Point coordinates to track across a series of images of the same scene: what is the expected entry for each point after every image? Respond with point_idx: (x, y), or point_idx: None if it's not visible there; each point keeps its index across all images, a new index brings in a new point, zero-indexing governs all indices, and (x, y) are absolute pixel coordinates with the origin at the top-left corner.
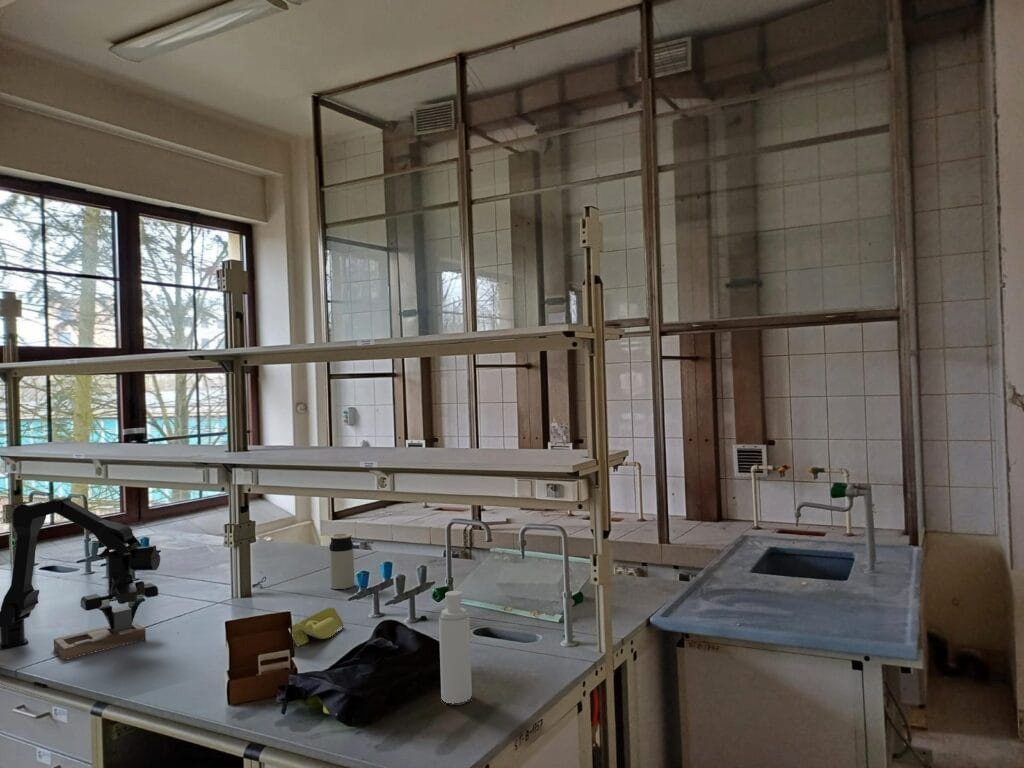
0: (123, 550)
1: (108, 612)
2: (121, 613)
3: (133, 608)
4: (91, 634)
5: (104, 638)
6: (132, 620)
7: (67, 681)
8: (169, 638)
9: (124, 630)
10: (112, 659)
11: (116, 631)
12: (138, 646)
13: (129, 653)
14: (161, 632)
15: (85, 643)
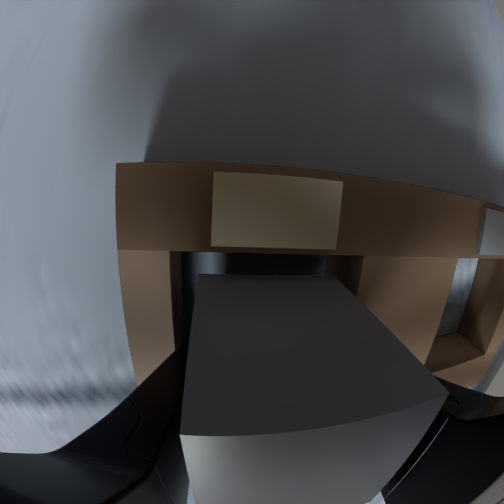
0: None
1: (479, 406)
2: (354, 389)
3: (140, 448)
4: (422, 349)
5: (433, 197)
6: (174, 356)
7: (499, 14)
8: (49, 80)
9: (282, 245)
10: (398, 13)
11: (331, 284)
12: (233, 62)
13: (317, 3)
14: (39, 239)
15: (496, 206)
